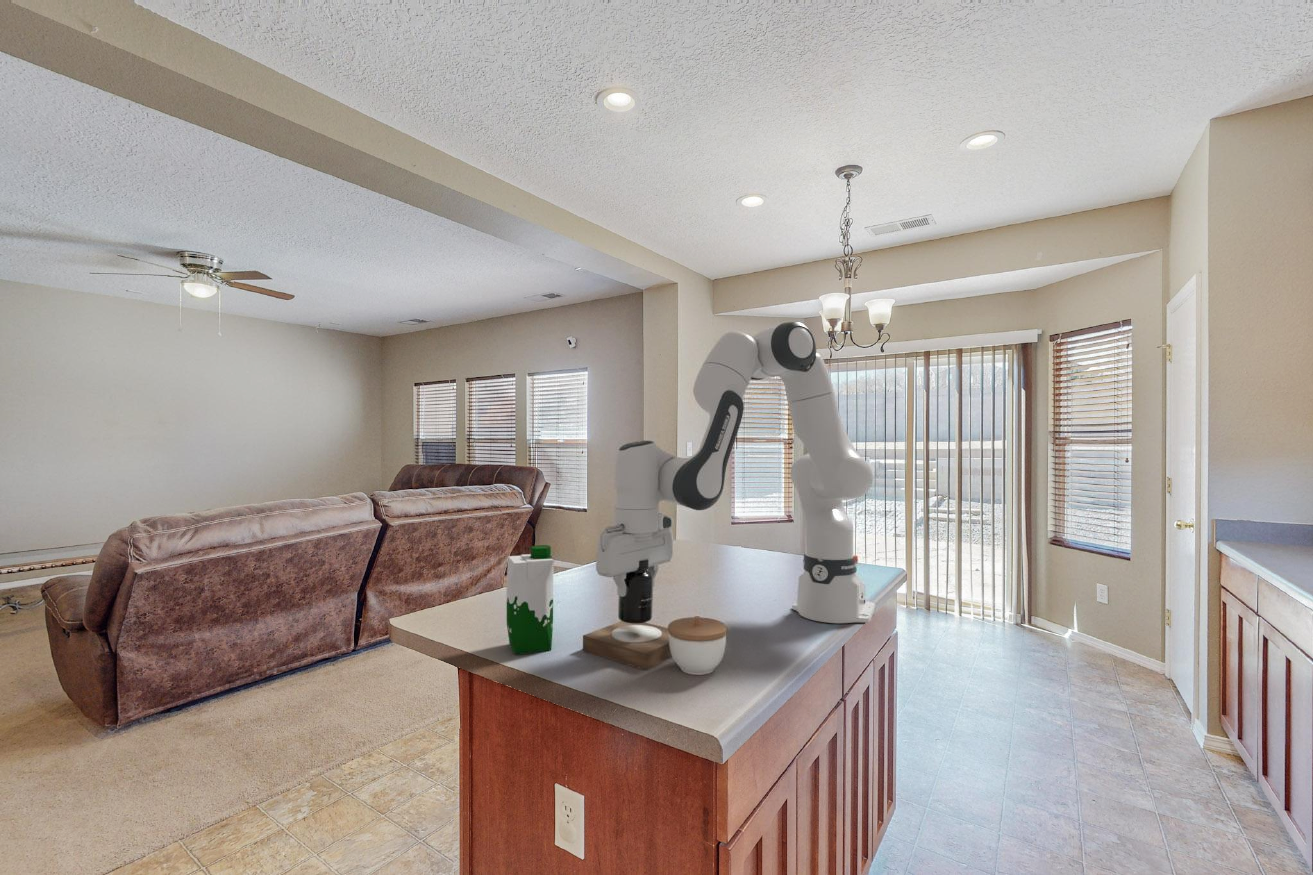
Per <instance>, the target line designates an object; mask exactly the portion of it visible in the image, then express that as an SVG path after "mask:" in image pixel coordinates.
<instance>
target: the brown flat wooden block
mask: <svg viewBox="0 0 1313 875" xmlns="http://www.w3.org/2000/svg"><path fill="white" fill-rule="evenodd" d="M582 651H583V652H585V653H590V654H593V655H594V656H598V657H602V658H605V659H608V660H612V661H615V662H617V663H618V662H619V663H622V664H625V665H628V666H631V667H635V668H637V669H641V670H644V671H647V670H649V669H651V668H653V667H655V666H657V665H660V664H661V663H663V662H666V661H667V660H669V659H671V658H673V657H672V655H671V651H670V647H669V633H668V627H665V626H661V625H657V624H653V623H648V622H645V623H626V622H623V621H621V620H620V621H618V622H616V623H614V624H610V625H607V626H605V627H603V628H599V629H596V630H593V631H591V632H588V633H587V634H586V633H585V634H584V635H582Z"/></svg>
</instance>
